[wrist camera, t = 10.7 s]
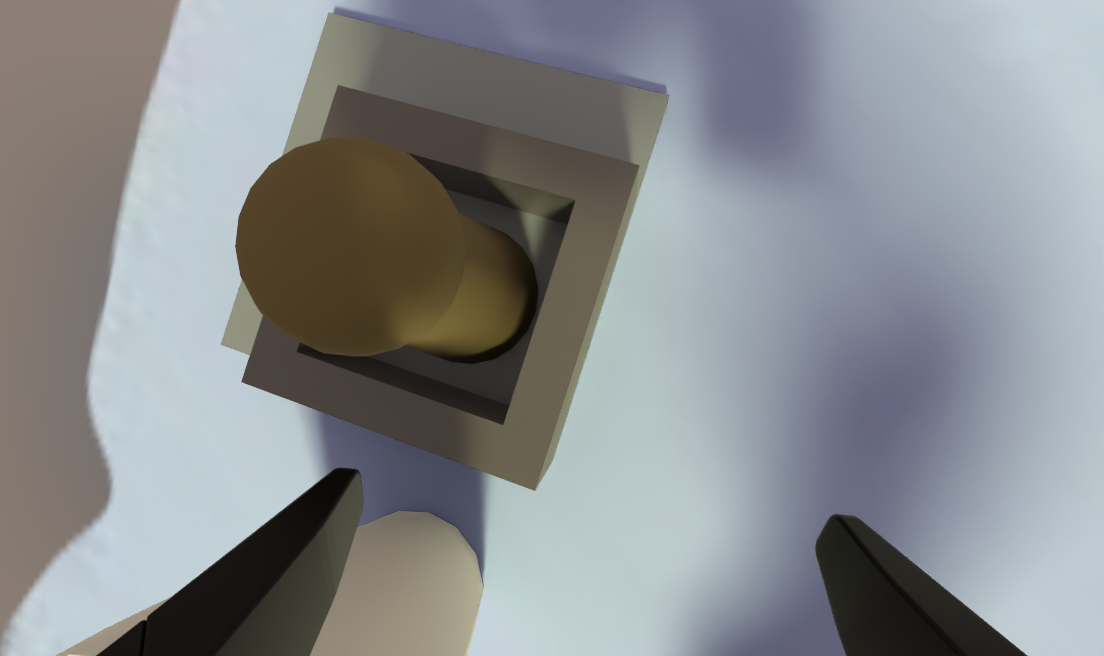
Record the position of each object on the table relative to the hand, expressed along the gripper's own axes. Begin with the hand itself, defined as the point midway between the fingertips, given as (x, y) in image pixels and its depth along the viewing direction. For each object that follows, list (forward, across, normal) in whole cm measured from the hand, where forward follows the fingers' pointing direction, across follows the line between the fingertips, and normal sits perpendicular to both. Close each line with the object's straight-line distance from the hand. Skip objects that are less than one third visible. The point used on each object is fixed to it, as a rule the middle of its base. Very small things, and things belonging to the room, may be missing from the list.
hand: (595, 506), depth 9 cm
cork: (+13, +4, +2) cm, 14 cm away
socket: (+15, +6, 0) cm, 16 cm away
